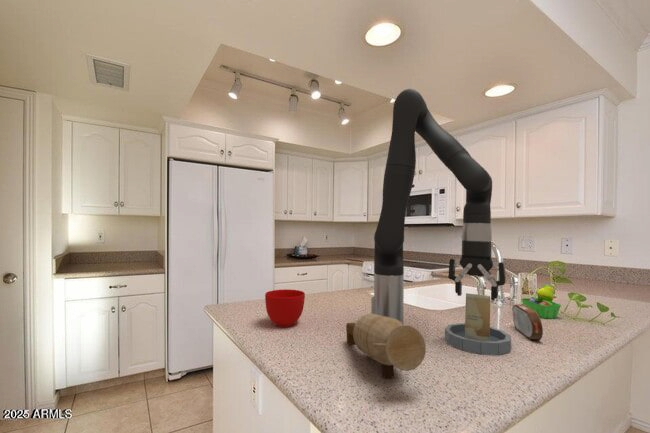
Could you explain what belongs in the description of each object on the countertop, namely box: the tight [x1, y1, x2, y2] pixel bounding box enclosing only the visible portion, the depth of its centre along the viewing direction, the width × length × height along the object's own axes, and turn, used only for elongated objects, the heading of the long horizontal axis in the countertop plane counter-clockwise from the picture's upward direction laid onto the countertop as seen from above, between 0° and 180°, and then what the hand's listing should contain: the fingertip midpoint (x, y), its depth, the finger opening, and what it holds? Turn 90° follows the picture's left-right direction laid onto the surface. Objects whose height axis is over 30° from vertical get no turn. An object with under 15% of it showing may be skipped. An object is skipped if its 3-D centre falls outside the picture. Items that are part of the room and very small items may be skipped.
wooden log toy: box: [345, 313, 427, 379], centre depth 72 cm, size 10×12×30 cm
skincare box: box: [464, 293, 491, 341], centre depth 86 cm, size 6×4×12 cm
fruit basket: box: [521, 284, 562, 319], centre depth 117 cm, size 11×9×11 cm
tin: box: [511, 303, 544, 341], centre depth 94 cm, size 15×3×8 cm, turn 168°
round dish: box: [444, 322, 512, 356], centre depth 86 cm, size 16×16×3 cm
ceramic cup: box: [264, 288, 306, 328], centre depth 104 cm, size 13×17×10 cm
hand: (475, 297), depth 87 cm, fingers open, 8 cm apart
